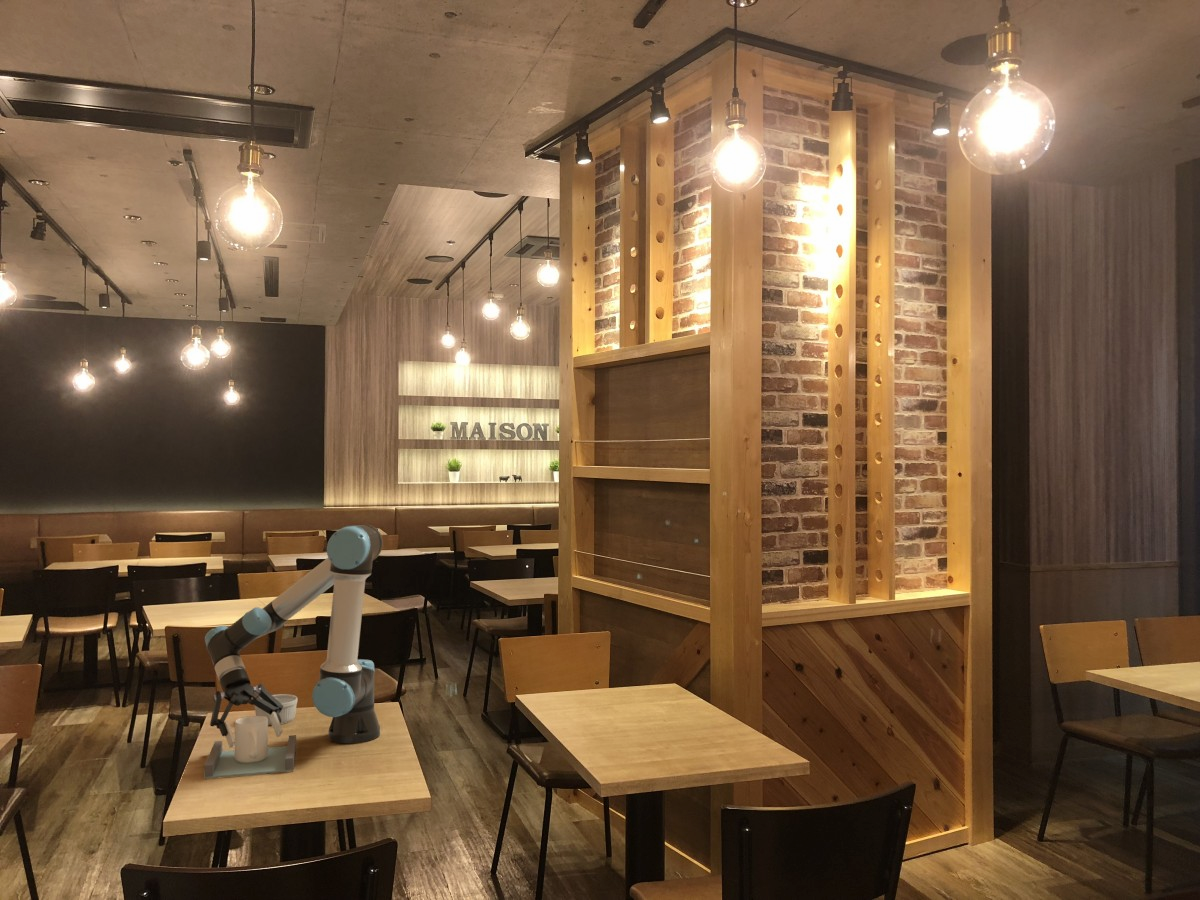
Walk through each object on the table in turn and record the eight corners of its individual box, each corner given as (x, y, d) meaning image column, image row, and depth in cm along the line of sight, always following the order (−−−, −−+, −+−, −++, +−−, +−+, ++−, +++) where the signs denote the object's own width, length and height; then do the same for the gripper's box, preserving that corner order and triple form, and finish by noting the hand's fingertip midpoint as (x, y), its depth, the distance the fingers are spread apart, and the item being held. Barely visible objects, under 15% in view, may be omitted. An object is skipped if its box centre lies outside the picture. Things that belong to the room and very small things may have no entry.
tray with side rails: (214, 754, 264) (214, 741, 264) (296, 747, 270) (296, 735, 270) (204, 779, 242) (204, 765, 242) (293, 771, 249) (293, 758, 249)
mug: (238, 769, 249) (238, 728, 249) (232, 756, 259) (233, 718, 259) (271, 764, 253) (272, 724, 253) (265, 752, 263) (265, 714, 263)
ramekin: (253, 728, 289) (254, 706, 290) (253, 717, 302) (253, 696, 302) (298, 724, 294) (298, 702, 294) (296, 713, 306) (296, 692, 307)
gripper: (269, 676, 276) (294, 737, 265) (184, 691, 258) (207, 757, 247) (278, 661, 272) (303, 722, 262) (192, 675, 254) (216, 741, 244)
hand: (256, 739), depth 255 cm, fingers open, 13 cm apart
